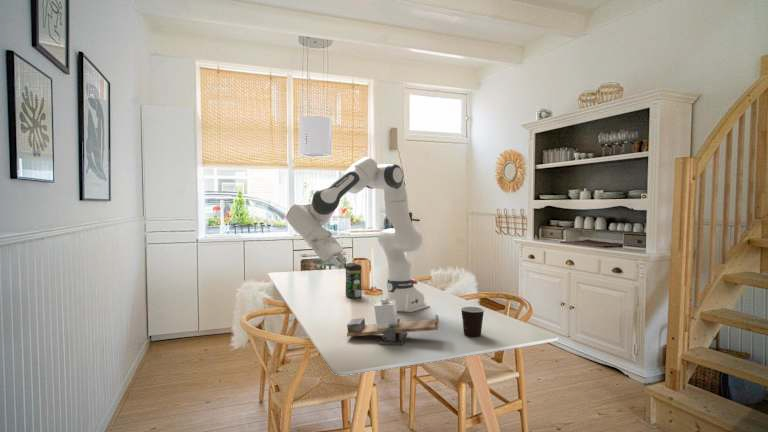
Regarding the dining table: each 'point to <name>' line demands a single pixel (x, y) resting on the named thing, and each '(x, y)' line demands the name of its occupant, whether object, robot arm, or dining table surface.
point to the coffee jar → (353, 280)
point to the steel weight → (386, 314)
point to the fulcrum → (392, 337)
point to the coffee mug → (472, 321)
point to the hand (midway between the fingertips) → (342, 264)
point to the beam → (359, 328)
